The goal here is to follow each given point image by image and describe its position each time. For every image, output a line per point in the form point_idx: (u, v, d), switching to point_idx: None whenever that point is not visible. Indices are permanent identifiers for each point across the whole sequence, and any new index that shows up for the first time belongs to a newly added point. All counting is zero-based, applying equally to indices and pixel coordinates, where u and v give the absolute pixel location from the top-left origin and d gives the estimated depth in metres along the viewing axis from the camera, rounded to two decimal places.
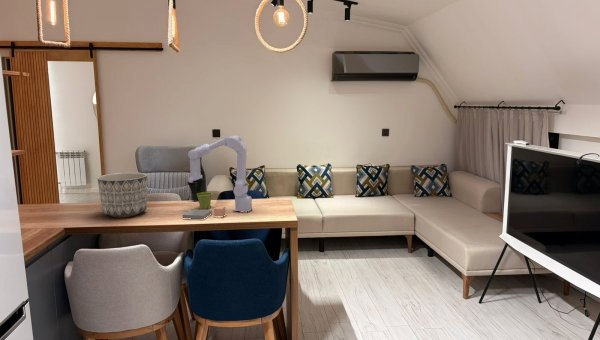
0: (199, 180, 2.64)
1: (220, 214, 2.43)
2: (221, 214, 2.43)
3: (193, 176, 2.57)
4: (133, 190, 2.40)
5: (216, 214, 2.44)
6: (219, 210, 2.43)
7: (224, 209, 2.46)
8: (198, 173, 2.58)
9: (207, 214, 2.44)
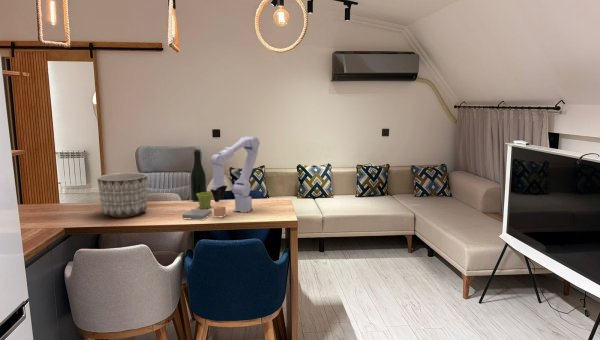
0: (222, 187, 2.47)
1: (220, 214, 2.43)
2: (221, 214, 2.43)
3: (216, 183, 2.40)
4: (134, 190, 2.40)
5: (216, 214, 2.44)
6: (219, 210, 2.43)
7: (224, 209, 2.46)
8: (222, 180, 2.41)
9: (207, 214, 2.44)
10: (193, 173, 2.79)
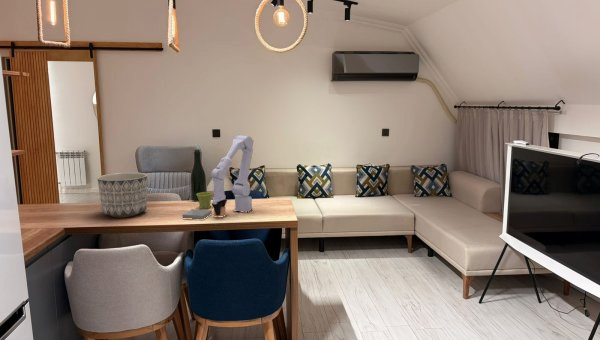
0: (222, 201, 2.47)
1: (220, 214, 2.43)
2: (221, 214, 2.43)
3: (217, 197, 2.41)
4: (134, 190, 2.40)
5: None
6: None
7: (224, 209, 2.46)
8: (222, 194, 2.42)
9: (207, 214, 2.44)
10: (193, 173, 2.79)
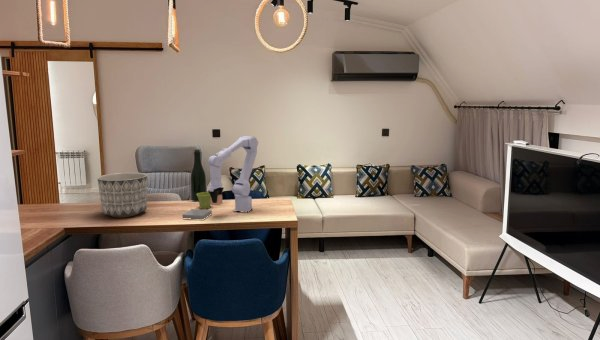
0: (218, 189, 2.46)
1: (217, 201, 2.42)
2: (218, 201, 2.42)
3: (213, 184, 2.40)
4: (133, 190, 2.40)
5: None
6: None
7: (221, 197, 2.44)
8: (219, 181, 2.41)
9: (207, 214, 2.44)
10: (193, 173, 2.79)
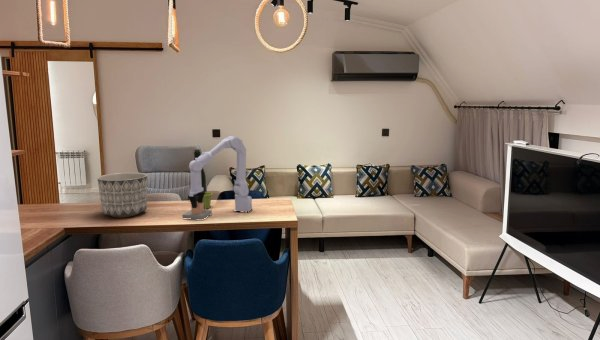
0: (200, 193, 2.47)
1: (198, 210, 2.42)
2: (199, 210, 2.42)
3: (194, 189, 2.40)
4: (133, 190, 2.40)
5: (194, 210, 2.42)
6: (197, 206, 2.42)
7: (202, 205, 2.45)
8: (199, 186, 2.41)
9: (207, 214, 2.44)
10: None
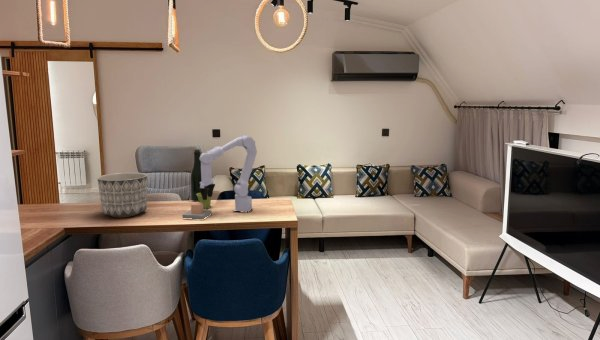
0: (210, 185, 2.52)
1: (197, 210, 2.42)
2: (198, 210, 2.42)
3: (204, 181, 2.45)
4: (133, 190, 2.40)
5: (193, 210, 2.42)
6: (196, 206, 2.42)
7: (202, 205, 2.45)
8: (209, 178, 2.46)
9: (207, 214, 2.44)
10: (193, 173, 2.79)
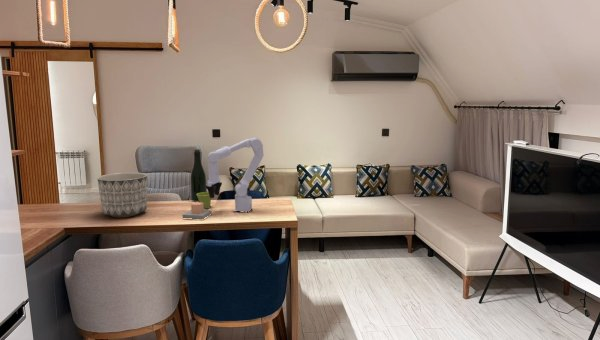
0: (217, 184, 2.56)
1: (197, 210, 2.42)
2: (198, 210, 2.42)
3: (211, 180, 2.49)
4: (133, 190, 2.40)
5: (193, 210, 2.43)
6: (196, 206, 2.42)
7: (202, 205, 2.45)
8: (217, 177, 2.50)
9: (207, 214, 2.44)
10: (193, 173, 2.79)
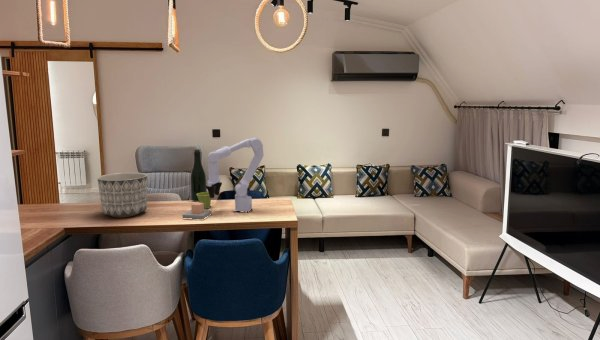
0: (217, 184, 2.56)
1: (198, 210, 2.42)
2: (198, 210, 2.42)
3: (211, 180, 2.49)
4: (133, 190, 2.40)
5: (194, 210, 2.42)
6: (197, 206, 2.42)
7: (202, 205, 2.44)
8: (217, 177, 2.50)
9: (207, 214, 2.44)
10: (193, 173, 2.79)
